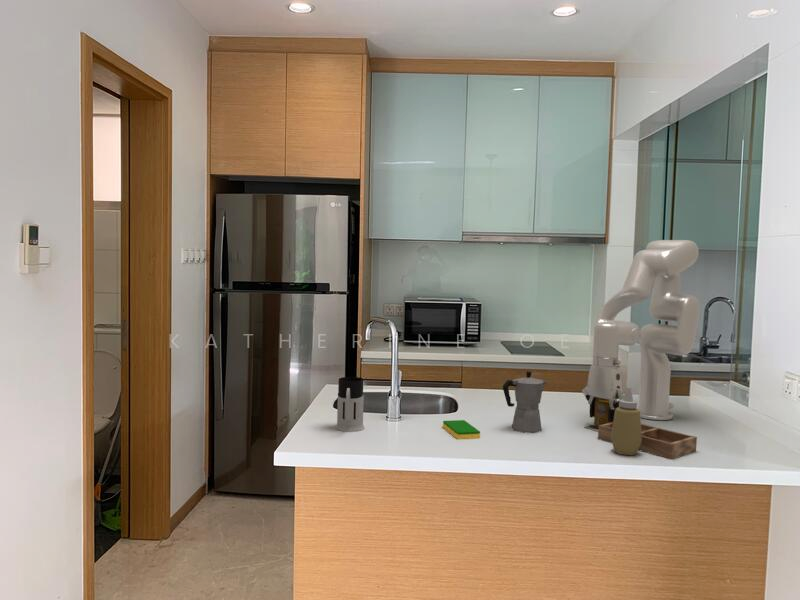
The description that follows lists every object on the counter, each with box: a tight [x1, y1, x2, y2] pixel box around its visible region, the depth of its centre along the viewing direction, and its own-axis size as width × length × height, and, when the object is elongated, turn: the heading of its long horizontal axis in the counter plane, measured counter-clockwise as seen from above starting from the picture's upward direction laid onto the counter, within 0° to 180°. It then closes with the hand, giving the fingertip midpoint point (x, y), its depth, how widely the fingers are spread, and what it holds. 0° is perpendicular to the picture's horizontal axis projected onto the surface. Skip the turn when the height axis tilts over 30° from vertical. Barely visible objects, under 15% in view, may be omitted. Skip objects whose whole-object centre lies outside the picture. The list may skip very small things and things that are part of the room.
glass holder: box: [335, 376, 365, 433], centre depth 193 cm, size 9×14×15 cm, turn 179°
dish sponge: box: [442, 419, 481, 440], centre depth 195 cm, size 7×14×2 cm, turn 14°
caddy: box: [597, 422, 698, 460], centre depth 186 cm, size 13×23×4 cm, turn 38°
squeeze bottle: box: [611, 387, 642, 456], centre depth 177 cm, size 8×8×18 cm
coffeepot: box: [502, 371, 548, 434], centre depth 199 cm, size 15×9×18 cm, turn 110°
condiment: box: [583, 397, 611, 432], centre depth 203 cm, size 7×8×12 cm
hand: (602, 418), depth 203 cm, fingers closed on condiment, 6 cm apart
